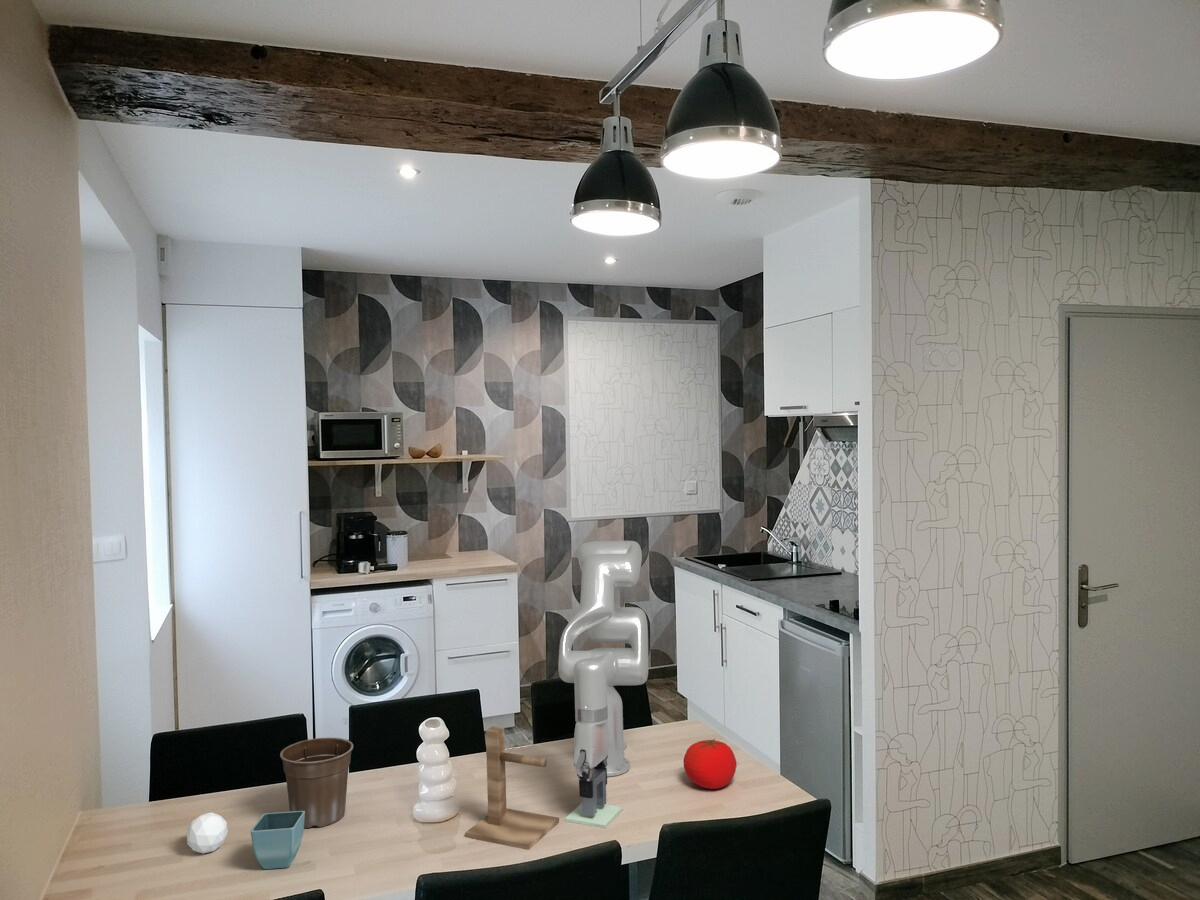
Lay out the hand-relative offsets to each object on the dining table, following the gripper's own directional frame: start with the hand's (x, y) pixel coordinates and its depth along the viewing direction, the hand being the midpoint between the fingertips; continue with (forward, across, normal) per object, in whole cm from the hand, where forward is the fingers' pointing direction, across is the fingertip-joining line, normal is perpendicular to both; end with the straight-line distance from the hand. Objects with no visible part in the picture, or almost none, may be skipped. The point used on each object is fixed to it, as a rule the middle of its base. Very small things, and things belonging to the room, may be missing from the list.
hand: (593, 790), depth 192 cm
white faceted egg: (+6, +45, -73) cm, 86 cm away
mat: (+6, 0, 0) cm, 6 cm away
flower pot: (+6, +44, -52) cm, 68 cm away
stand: (+6, +13, -14) cm, 20 cm away
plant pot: (+6, +24, -60) cm, 65 cm away
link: (+4, 0, 0) cm, 4 cm away
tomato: (+6, -26, +20) cm, 33 cm away
